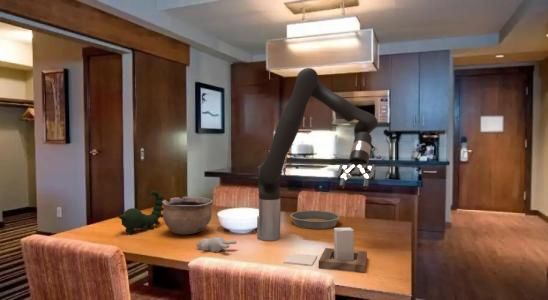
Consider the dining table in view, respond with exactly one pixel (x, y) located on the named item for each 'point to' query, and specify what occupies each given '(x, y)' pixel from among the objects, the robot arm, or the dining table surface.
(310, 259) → the ceramic tile
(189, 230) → the ceramic bowl
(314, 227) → the cake pan
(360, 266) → the frame
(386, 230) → the dining table surface
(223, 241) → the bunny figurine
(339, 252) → the skincare box
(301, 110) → the robot arm
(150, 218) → the toy figurine
